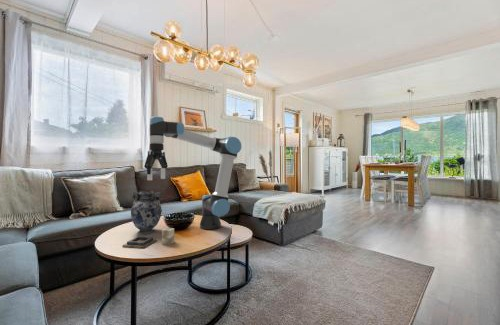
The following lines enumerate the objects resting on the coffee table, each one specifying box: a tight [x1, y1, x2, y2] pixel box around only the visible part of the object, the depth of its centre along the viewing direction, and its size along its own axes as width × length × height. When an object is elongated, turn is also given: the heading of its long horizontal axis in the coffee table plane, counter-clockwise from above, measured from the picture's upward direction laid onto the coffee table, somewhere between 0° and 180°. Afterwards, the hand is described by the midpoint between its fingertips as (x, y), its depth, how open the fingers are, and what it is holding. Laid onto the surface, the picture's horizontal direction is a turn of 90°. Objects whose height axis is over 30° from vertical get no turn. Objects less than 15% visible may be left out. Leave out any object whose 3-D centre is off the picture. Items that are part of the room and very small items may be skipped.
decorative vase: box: [130, 189, 163, 235], centre depth 160 cm, size 21×19×28 cm
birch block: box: [161, 227, 175, 246], centre depth 139 cm, size 5×5×8 cm
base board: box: [122, 236, 158, 249], centre depth 138 cm, size 13×13×2 cm
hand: (156, 179), depth 141 cm, fingers open, 13 cm apart
